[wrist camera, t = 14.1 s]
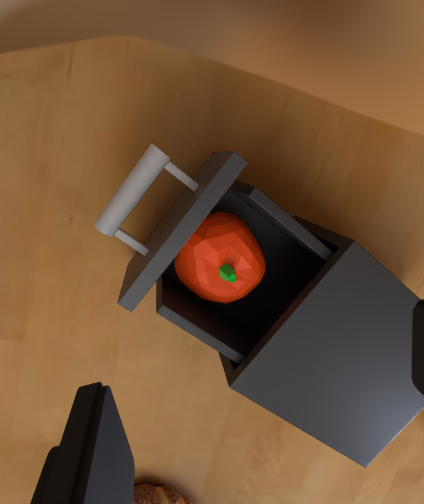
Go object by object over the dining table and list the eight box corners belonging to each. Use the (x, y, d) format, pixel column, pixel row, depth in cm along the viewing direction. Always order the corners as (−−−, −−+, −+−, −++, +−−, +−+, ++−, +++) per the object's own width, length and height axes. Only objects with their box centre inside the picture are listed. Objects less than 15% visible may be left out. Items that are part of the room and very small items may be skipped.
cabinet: (208, 321, 34) (228, 387, 24) (295, 215, 32) (354, 240, 22) (312, 389, 39) (365, 468, 29) (393, 299, 37) (478, 351, 27)
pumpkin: (212, 188, 28) (231, 198, 22) (268, 252, 31) (299, 276, 25) (151, 246, 28) (153, 272, 22) (212, 303, 31) (229, 340, 25)
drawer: (85, 237, 29) (58, 268, 21) (172, 117, 27) (179, 101, 19) (246, 342, 34) (273, 398, 26) (325, 248, 33) (380, 277, 25)
